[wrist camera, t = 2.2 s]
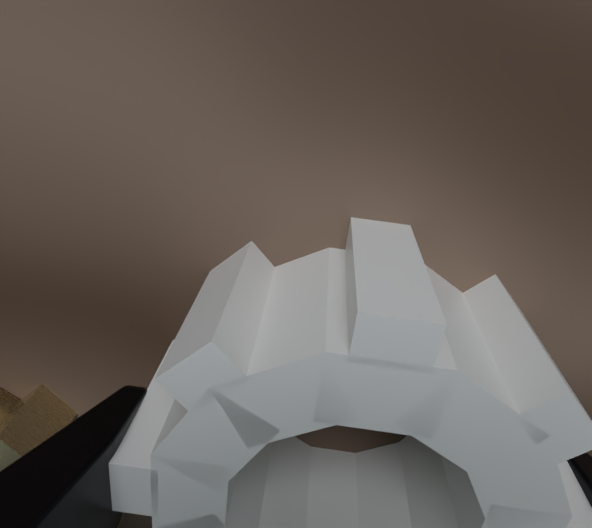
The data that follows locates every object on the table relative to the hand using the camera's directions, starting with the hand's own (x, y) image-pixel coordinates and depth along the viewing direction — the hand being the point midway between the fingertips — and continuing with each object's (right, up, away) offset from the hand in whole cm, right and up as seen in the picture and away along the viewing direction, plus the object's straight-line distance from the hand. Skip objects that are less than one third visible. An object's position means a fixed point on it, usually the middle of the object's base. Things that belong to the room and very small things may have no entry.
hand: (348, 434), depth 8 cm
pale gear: (0, +1, +1) cm, 1 cm away
